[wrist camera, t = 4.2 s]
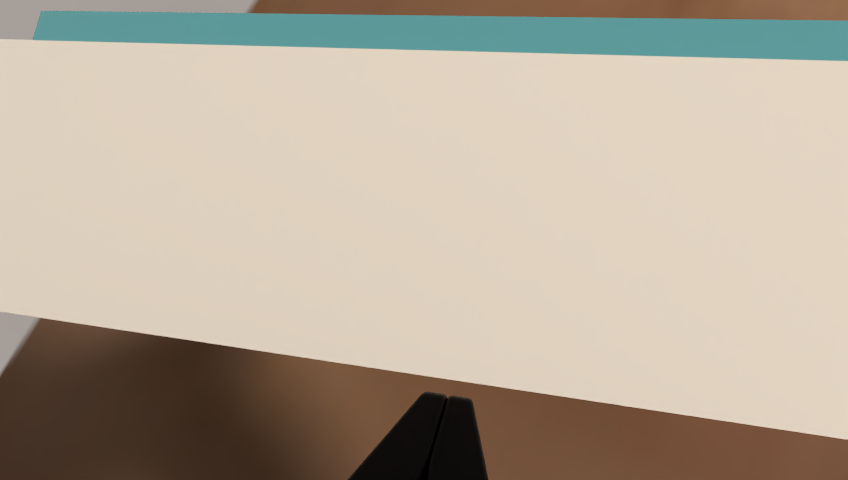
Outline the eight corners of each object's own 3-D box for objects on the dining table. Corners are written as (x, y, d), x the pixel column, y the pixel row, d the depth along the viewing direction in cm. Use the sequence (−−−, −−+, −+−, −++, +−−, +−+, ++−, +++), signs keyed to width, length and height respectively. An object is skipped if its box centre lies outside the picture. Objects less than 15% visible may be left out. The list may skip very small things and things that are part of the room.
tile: (657, 385, 16) (1094, 475, 4) (337, 339, 18) (-79, 299, 6) (664, 268, 17) (1053, 7, 4) (353, 237, 19) (12, 0, 6)
